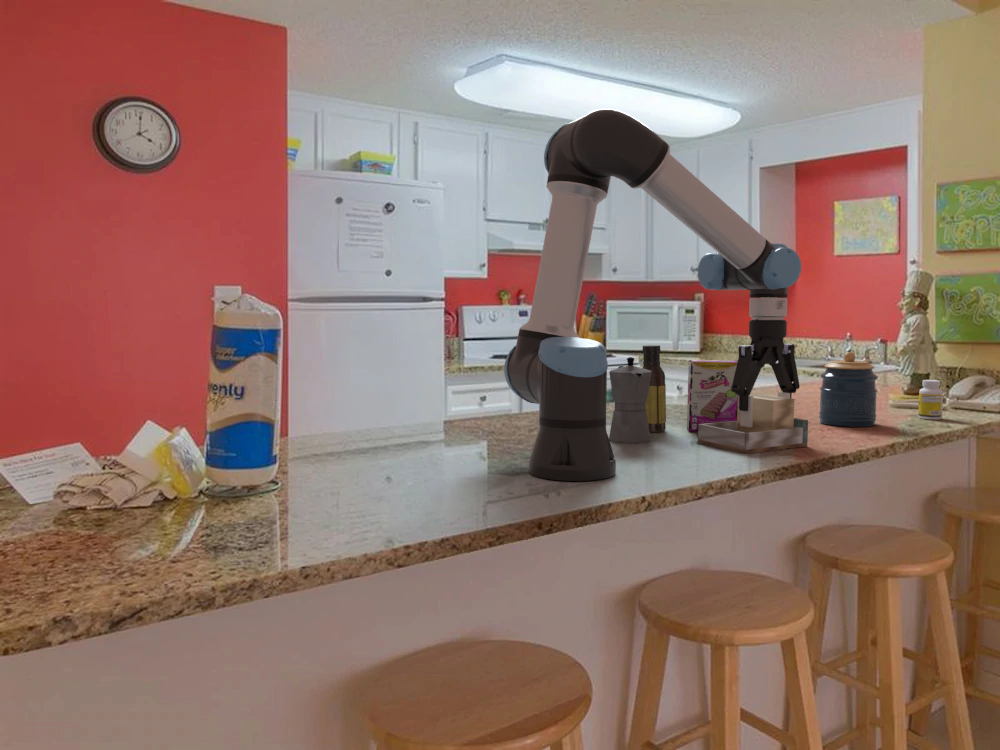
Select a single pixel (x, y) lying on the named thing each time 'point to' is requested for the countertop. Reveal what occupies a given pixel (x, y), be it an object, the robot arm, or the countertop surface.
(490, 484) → the countertop surface
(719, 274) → the robot arm
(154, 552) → the countertop surface
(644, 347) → the sauce bottle
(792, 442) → the grey open tray
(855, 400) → the canister
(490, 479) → the countertop surface
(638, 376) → the coffeepot
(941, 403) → the supplement bottle
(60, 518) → the countertop surface
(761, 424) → the tan rectangular block
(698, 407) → the candy bar box
